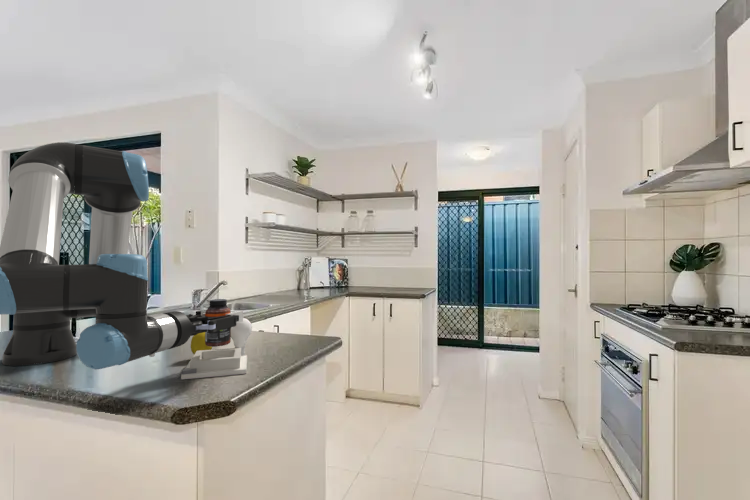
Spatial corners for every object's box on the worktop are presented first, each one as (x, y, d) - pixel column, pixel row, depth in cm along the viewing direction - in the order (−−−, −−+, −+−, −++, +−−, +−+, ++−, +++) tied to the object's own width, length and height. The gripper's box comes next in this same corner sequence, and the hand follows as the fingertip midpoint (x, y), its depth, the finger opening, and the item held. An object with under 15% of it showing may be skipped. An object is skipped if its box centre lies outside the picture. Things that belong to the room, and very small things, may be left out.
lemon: (195, 356, 103) (195, 328, 103) (215, 355, 103) (215, 327, 103) (186, 361, 97) (187, 331, 97) (208, 361, 98) (208, 331, 98)
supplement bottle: (216, 341, 95) (217, 298, 95) (235, 342, 93) (236, 298, 94) (199, 346, 89) (200, 300, 90) (219, 348, 87) (219, 301, 88)
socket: (191, 363, 96) (191, 349, 96) (247, 358, 100) (247, 346, 100) (181, 379, 82) (181, 364, 82) (246, 373, 87) (246, 358, 87)
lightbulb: (243, 360, 99) (244, 319, 99) (222, 358, 100) (223, 319, 100) (255, 354, 105) (256, 316, 105) (236, 353, 106) (236, 315, 106)
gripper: (124, 348, 76) (198, 328, 98) (204, 352, 72) (262, 331, 95) (125, 312, 76) (199, 301, 99) (204, 314, 72) (263, 302, 95)
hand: (230, 315), depth 97 cm, fingers closed on supplement bottle, 6 cm apart
